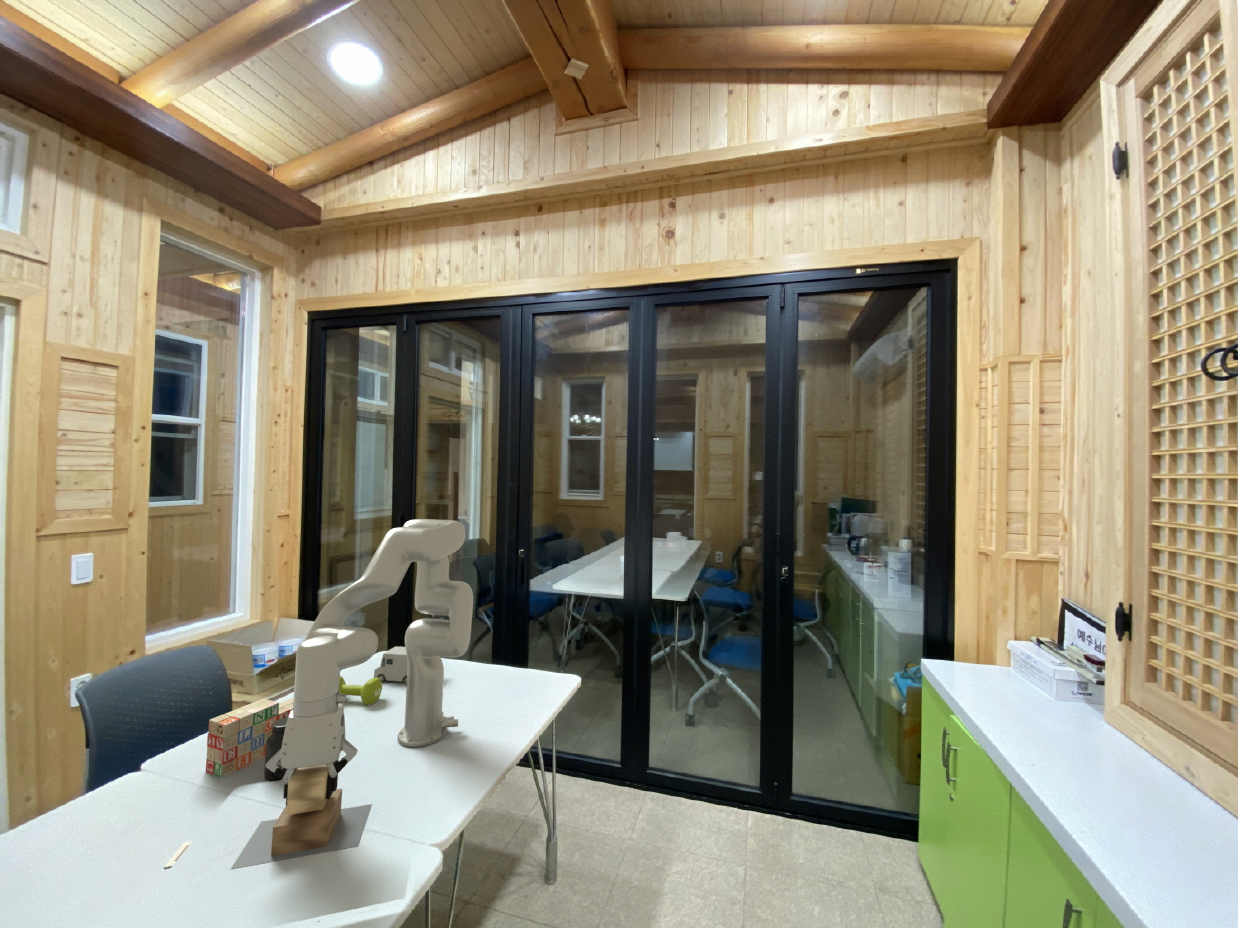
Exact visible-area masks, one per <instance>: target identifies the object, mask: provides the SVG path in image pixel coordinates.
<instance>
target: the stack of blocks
mask: <svg viewBox="0 0 1238 928" xmlns="http://www.w3.org/2000/svg"><path fill="white" fill-rule="evenodd" d="M293 701H294V697H291V698H289V699H287V700H284V701H281V702H278V701H275V700H270V699H266V698H261V699H259V700H256V701H254V702H251V703H249V704H247V705H243V706H241V707H239V708H237V709H234V710H231V711H229V712H226V713H224V714H220V715H218V716H216V717H213V718H211V719H209V721H208V733H207V736H206V737H207V739H206V740H207V741H206V761H205V762H206V763H205V772H207V773H209V774H211V775H215V776H217V777H219V778H223V777H227V776H228V775H230V774H232V773H234V772H235V771H239V770H240V769H243V768H245V767H246V766H248V765H252V763H255V762H256V761H259V760H261V759H262V758H265V752H266V741H267V739H268V738H269V736H270V735H271V734H272V726H273V723H274V722H276V721H278V720H280V719H283V718H287V717H289V714H290V712H291V711H292V710H293Z"/></svg>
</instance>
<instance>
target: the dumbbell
mask: <svg viewBox="0 0 1238 928" xmlns="http://www.w3.org/2000/svg"><path fill="white" fill-rule="evenodd" d="M339 690H340V693H341V694H343V695H345V694H347V696H355V697H360V699H361V702H362V703H363V704H364V705H365V706H372V705H374V704H375V703H376V702H378V700H379V699H380V697H381V695H382V691H383V682H381V680H380V679H379V678H374V677H372V678H370V679H368V680H366V682H365V683H364V685H358V684H346V680H345V679H344V677H343V676H342V675H340V681H339Z"/></svg>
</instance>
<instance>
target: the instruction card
mask: <svg viewBox="0 0 1238 928" xmlns="http://www.w3.org/2000/svg"><path fill="white" fill-rule="evenodd" d="M192 843H193V840H189V841H184V842H183V843H182V845H180V846H179V848H178V849H177V850H176V851H175V852H174V854H173V855H172V856H171V857H170V859H169V860H168V861H167V863H166V864H165V865H164V866H163V869H167V868H172V867H174V865H175V864H176V862H177V861H178V860H179V859H180V857H181V856H182V855H183V854H184V852H185V851H186V850H187V849H188V848H189V846H190V845H191V844H192Z"/></svg>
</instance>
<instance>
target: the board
mask: <svg viewBox="0 0 1238 928" xmlns="http://www.w3.org/2000/svg"><path fill="white" fill-rule="evenodd" d="M372 807H373V804H372V803H371V804H366V805H365V804H364V805H358V806H351V807H346V808H345V807H344V808H341V814H340V817H339V819H338V822H337V824H336V826H335V829H334V831H333V834H332V836H331V838H330V841H329V843H328V846H325V847H320V848H314V849H308V850H303V851H297V852H291V853H286V854H280V855H274V856H271V848H272V833H273V826H274V825H275V823H276V821H277V820H278V818H275V819H270V820H261V821H260V823H259V824H258V826H257V828H256V829H255V830H254V832H253V834H252V835H251V837H250V838H249V839H248V841H247V843H246V844H245V845H244V848H243V849H242V851H241V852H240V853H239V856H238V857H237V859H235V862H234V863H233V864H232V866H231V868H230V870H235V869H241V868H246V867H252V866H258V865H263V864H268V863H273V862H280V861H285V860H290V859H297V858H302V857H307V856H312V855H319V854H324V853H329V852H334V851H341V850H347V849H352V848H358V847H359V844H360V842H361V839H362V835H363V833H364V829H365V826H366V823H367V820H368V818H369V815H370V811H371V808H372Z"/></svg>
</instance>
